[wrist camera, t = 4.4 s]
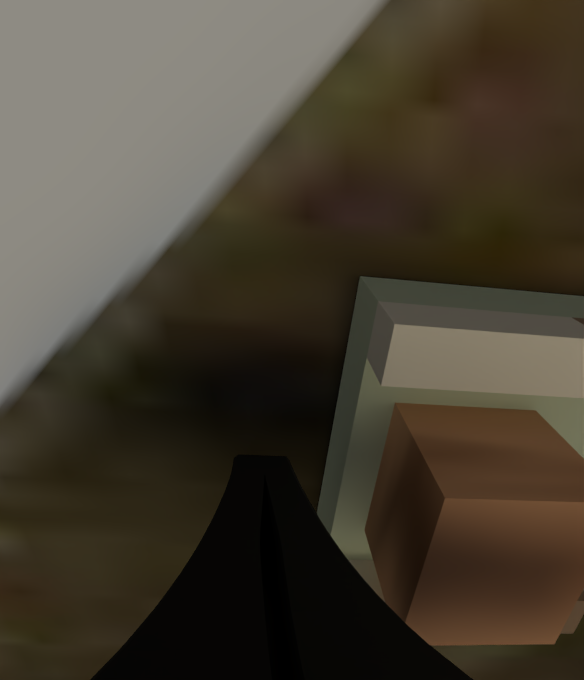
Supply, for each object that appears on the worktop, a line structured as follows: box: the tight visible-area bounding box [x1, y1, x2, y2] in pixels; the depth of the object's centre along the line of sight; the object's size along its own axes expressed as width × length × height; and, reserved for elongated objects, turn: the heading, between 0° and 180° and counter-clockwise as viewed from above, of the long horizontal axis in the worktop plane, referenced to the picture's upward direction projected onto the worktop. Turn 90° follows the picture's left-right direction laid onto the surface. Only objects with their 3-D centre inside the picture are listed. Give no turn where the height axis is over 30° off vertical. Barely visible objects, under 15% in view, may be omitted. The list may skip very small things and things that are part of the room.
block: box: [365, 403, 584, 646], centre depth 12 cm, size 4×4×4 cm
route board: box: [317, 276, 584, 633], centre depth 14 cm, size 10×13×3 cm
